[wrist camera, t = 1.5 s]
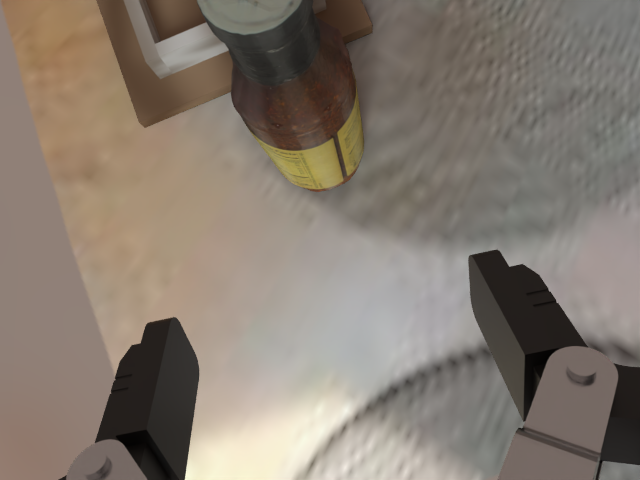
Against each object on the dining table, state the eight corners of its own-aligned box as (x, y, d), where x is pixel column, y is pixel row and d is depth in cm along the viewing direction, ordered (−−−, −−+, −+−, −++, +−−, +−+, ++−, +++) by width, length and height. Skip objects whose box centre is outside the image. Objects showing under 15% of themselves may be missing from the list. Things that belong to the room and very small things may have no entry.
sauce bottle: (329, 94, 38) (285, -150, 19) (382, 160, 37) (395, -26, 17) (255, 148, 38) (133, -41, 18) (306, 216, 37) (233, 92, 17)
